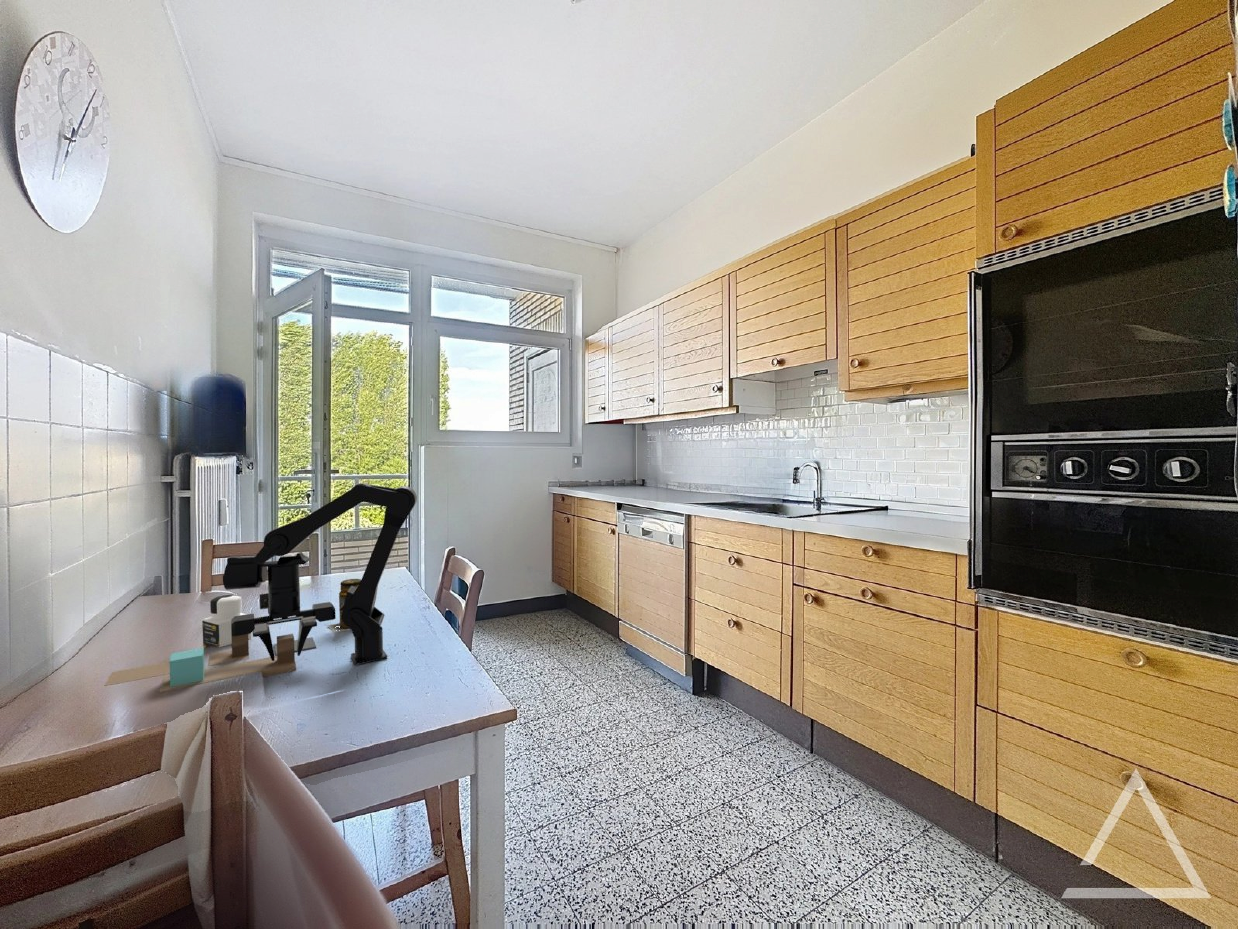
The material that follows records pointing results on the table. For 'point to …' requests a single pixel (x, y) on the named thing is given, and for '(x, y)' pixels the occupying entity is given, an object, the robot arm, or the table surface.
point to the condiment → (342, 595)
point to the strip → (249, 666)
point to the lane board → (138, 673)
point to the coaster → (307, 645)
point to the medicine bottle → (221, 620)
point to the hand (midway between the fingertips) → (286, 657)
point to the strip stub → (232, 651)
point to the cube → (187, 667)
